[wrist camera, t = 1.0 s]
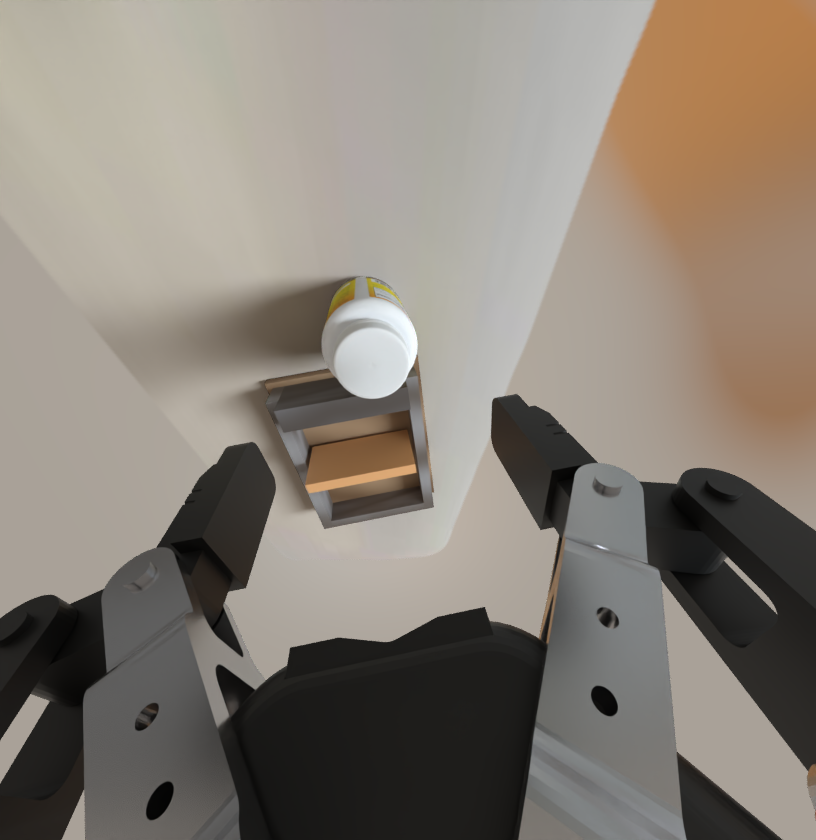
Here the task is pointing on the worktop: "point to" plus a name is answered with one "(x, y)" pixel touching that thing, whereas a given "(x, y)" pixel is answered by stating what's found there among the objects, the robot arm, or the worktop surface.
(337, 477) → the board
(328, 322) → the supplement bottle
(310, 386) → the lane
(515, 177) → the worktop surface
